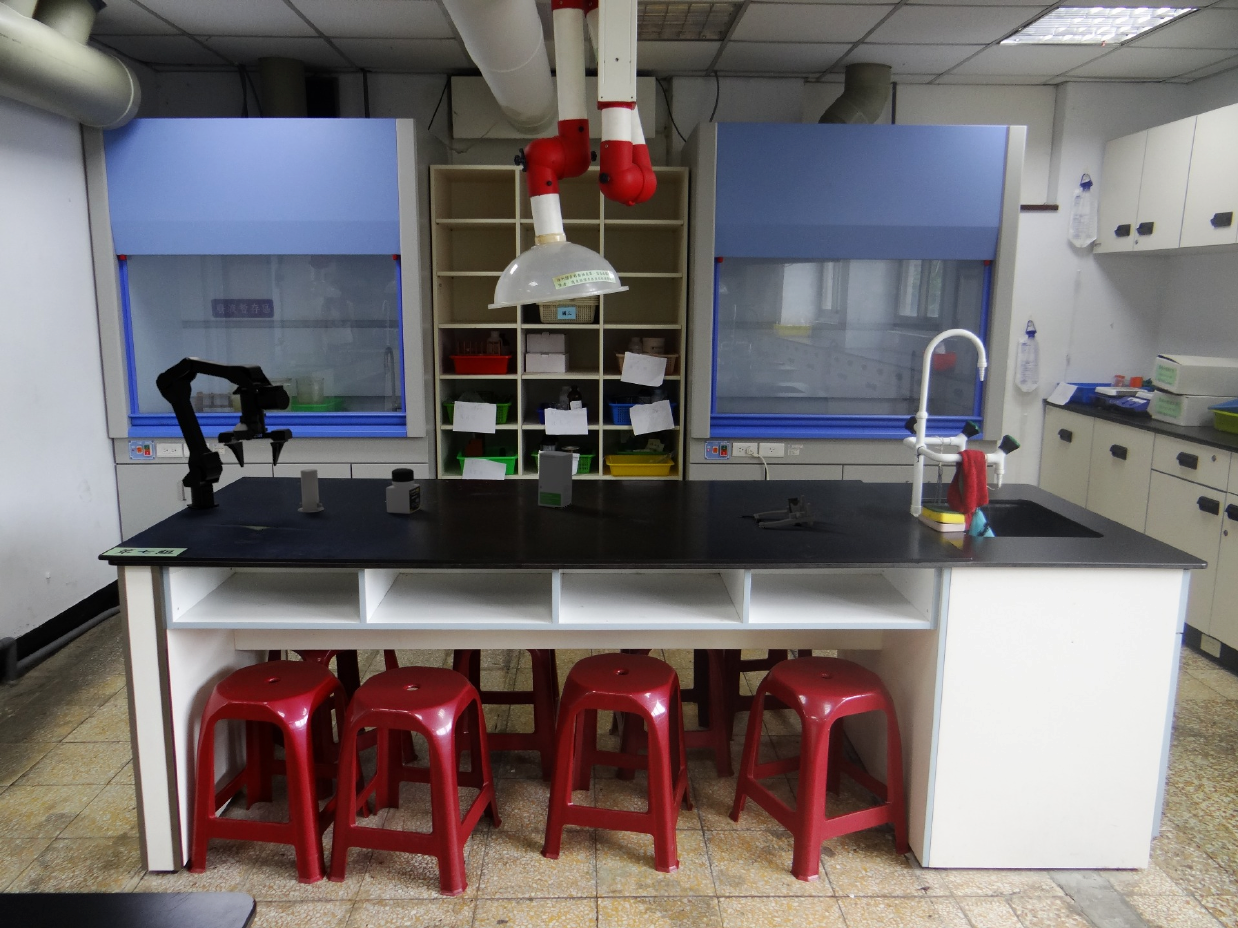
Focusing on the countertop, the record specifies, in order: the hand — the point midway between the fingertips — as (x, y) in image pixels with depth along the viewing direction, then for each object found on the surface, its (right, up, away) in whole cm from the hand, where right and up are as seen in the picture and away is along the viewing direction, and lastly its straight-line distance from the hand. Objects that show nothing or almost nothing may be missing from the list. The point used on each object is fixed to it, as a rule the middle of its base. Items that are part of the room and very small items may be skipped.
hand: (258, 466), depth 243 cm
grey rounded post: (+14, -12, +2) cm, 18 cm away
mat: (+6, -15, -11) cm, 20 cm away
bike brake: (+142, -16, -7) cm, 143 cm away
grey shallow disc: (+14, -13, +2) cm, 19 cm away
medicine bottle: (+39, -13, +4) cm, 42 cm away
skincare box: (+82, -12, +13) cm, 83 cm away
